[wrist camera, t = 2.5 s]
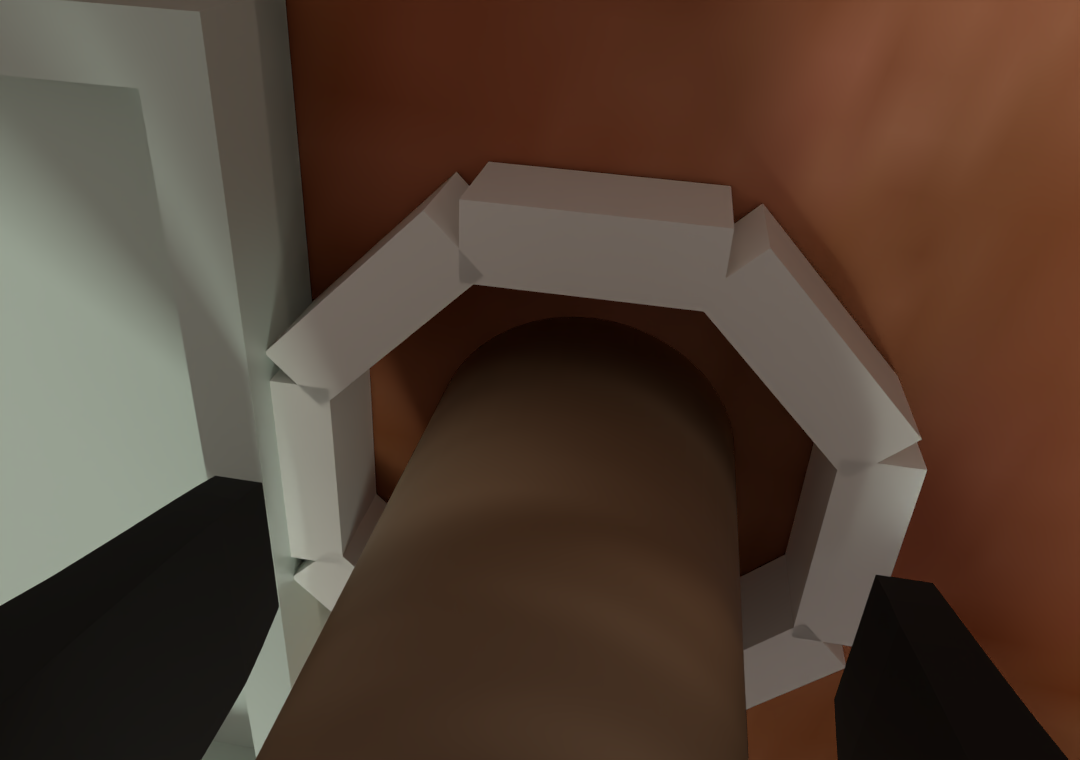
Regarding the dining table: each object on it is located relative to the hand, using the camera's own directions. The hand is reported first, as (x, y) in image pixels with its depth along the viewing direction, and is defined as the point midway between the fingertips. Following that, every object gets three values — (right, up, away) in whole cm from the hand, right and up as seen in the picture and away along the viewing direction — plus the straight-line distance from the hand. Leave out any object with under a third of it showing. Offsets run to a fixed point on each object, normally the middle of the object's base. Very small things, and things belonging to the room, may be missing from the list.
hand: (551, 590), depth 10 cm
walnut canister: (0, +1, +3) cm, 3 cm away
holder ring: (0, +1, +2) cm, 3 cm away
